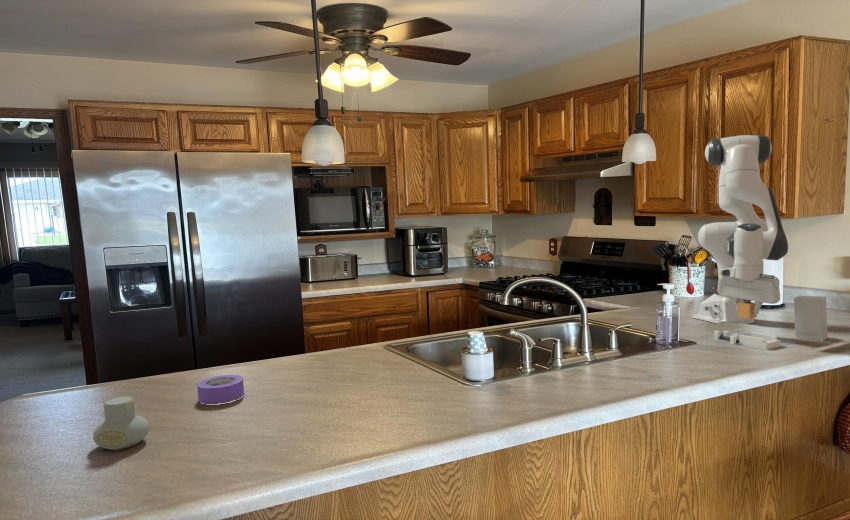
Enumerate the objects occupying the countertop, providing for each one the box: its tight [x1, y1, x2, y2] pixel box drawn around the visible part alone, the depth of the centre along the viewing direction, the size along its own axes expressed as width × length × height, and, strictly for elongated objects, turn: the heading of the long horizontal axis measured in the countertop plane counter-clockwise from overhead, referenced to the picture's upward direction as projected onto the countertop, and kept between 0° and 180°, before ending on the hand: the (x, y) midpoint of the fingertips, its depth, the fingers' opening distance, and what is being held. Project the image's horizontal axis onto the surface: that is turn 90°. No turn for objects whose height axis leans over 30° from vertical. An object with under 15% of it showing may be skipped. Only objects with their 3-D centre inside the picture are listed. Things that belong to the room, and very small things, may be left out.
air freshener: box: [92, 396, 150, 451], centre depth 127 cm, size 11×8×10 cm
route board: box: [706, 330, 798, 351], centre depth 193 cm, size 20×18×4 cm
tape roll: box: [196, 374, 245, 404], centre depth 157 cm, size 12×12×5 cm
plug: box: [738, 300, 758, 319], centre depth 198 cm, size 4×4×6 cm
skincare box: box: [793, 295, 828, 342], centre depth 193 cm, size 8×6×15 cm
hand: (747, 312), depth 198 cm, fingers closed on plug, 4 cm apart
